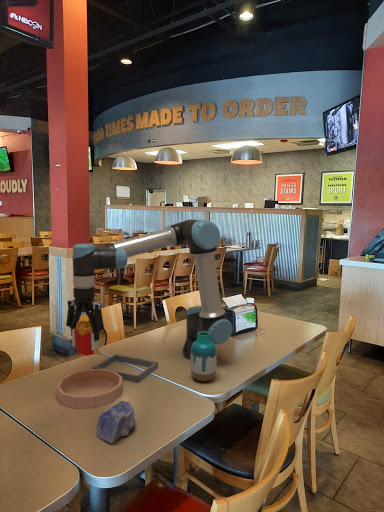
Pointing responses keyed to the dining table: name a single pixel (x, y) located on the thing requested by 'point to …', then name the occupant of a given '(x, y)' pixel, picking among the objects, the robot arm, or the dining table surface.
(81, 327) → the french fries
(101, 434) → the mineral
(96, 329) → the robot arm
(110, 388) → the bowl
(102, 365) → the gray square frame
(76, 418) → the dining table surface
